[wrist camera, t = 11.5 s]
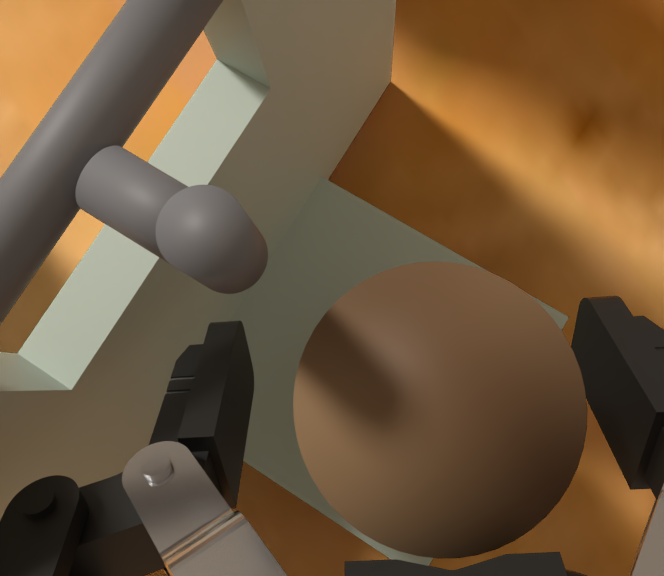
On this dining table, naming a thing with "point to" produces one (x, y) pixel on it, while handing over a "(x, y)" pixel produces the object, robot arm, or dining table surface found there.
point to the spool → (440, 410)
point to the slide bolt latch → (194, 229)
